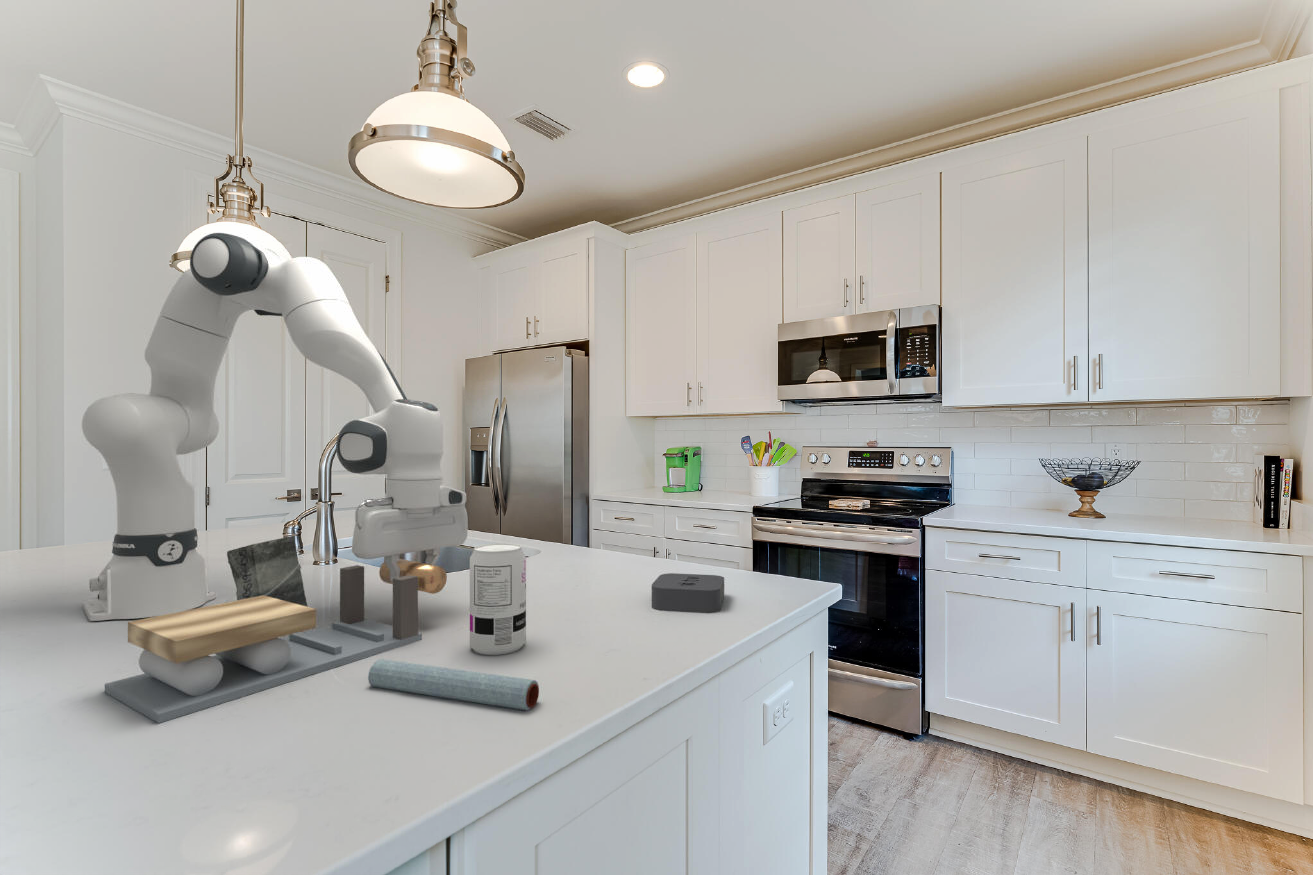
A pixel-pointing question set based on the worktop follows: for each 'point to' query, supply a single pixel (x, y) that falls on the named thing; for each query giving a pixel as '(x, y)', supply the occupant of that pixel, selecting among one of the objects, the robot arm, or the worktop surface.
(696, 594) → the streaming box
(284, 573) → the stone block
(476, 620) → the supplement can
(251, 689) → the roller bed
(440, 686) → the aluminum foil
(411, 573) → the copper roller
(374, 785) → the worktop surface
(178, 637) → the oak slab
